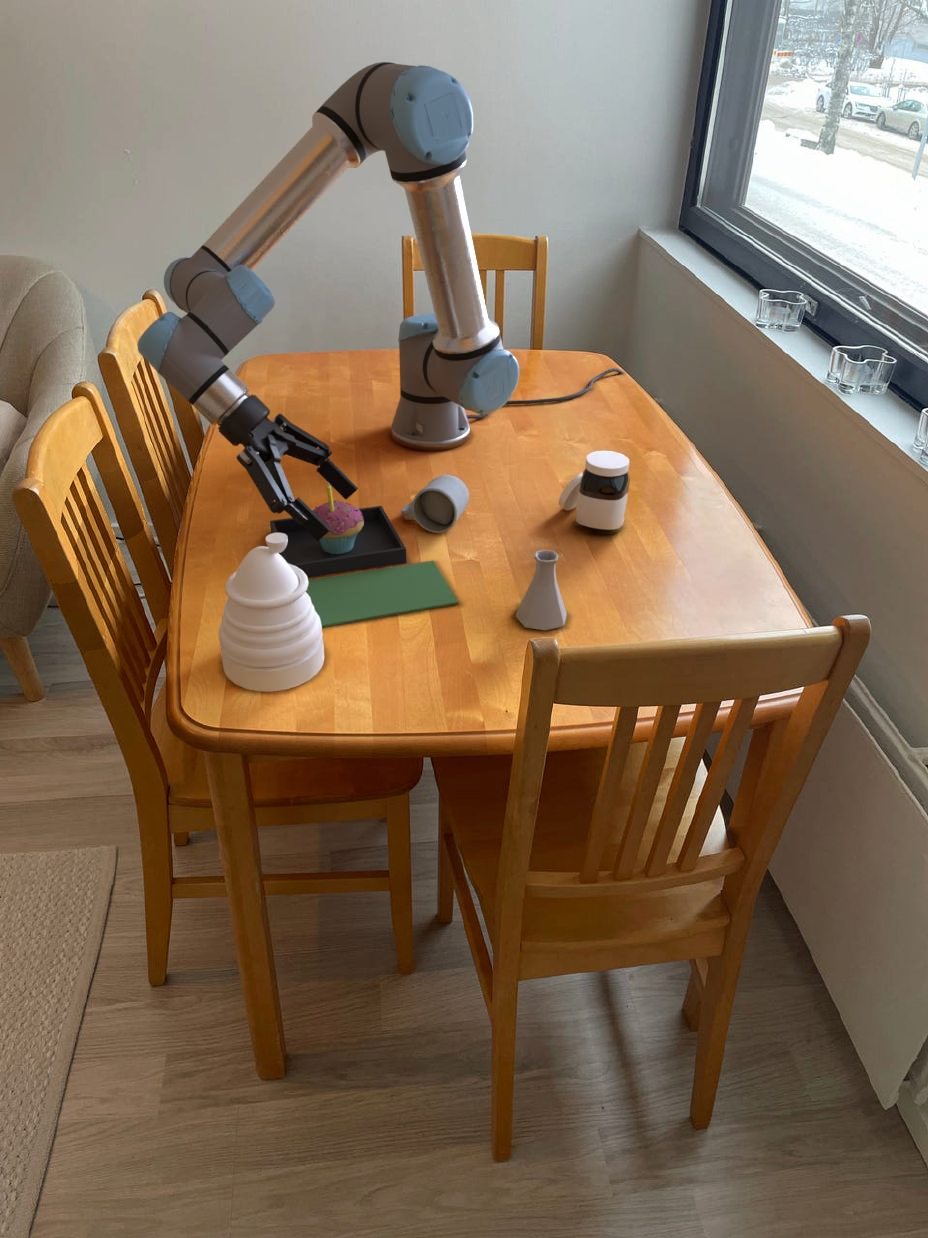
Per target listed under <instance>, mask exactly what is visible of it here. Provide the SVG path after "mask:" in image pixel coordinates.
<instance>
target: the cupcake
mask: <svg viewBox="0 0 928 1238" xmlns="http://www.w3.org/2000/svg"><path fill="white" fill-rule="evenodd" d="M326 484H327V485H326V493H327V501H328V502H324V503H322V504H320V505H318V506H315V507H314V508H313V509H312V511H313V512H314V513H316V514H317V515H318V516H319V517H320V518H321V519H322V520H323V521H324V522H325V523H326V524H327V525H328V526H329V527H330V528H331V530H330V531H329V532H328V533H327V534H326V535H324V536H323V537H322V538H321V539H320V540H319V541H320V543H321V546H322V548H323V550H324V551H326V552H327V553H330V554H343V553H346V552H349V551H350V550H351V549H352V548H353V545H354V541H355V538H356V536H357V534H358V532H359V531H360V530H361V529H362V527H363V526H364V521H363V518H364V517H363V516H362V513H361V511H360V510H359V509H360V508H358V507H357V506H355V505H352V504H351V503H348V502H345V501H340V500H333V491H332V486H331V485H330V484H329V482H327V481H326Z"/></svg>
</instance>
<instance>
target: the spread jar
mask: <svg viewBox="0 0 928 1238" xmlns="http://www.w3.org/2000/svg"><path fill="white" fill-rule="evenodd" d="M584 463H585V464H584V467H585V468H583V470H582V472H581V473H579V474H577V475H575V476H574V477H573V478H572V479H571V480H570V481H569V482H568V484H566V486H565V487H564V489H563V490H562V491H561V493H560V496H559V498H558V505H559V506H560V507H561V508H562V509H564V510H565V511H571V510H572V509H575V508H576V514H575V515H576V516H575V517H576V519H575V521H576V525H577V526H578V527H579V528H581V530H583V531H585V532H587V533H590V534H593V535H601V536H604V535H606V536H607V535H612V534H616V533H618V532H619V531H620V530H621V529H622V528H623V525H624V523H625V518H626V513H627V506H628V505H627V504H628V497H629V490H630V480H631V476H630V473H629V467H630V459H629V457H627V456H626V455H624V454H623V453H621V452H617V451H612V450H597V451H596V450H595V451H592V452H590V453H588V454H587V455H586V457H585V462H584Z"/></svg>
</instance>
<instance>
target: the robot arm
mask: <svg viewBox="0 0 928 1238" xmlns="http://www.w3.org/2000/svg"><path fill="white" fill-rule="evenodd" d="M473 112H474V111H473V107H472V103H471V100H470V97H469V95H468V93H467V91H466V89H465V88H464V86H463V85H462V83H460V82H459V80H458V79H456V77H454V76H452V75H451V74H449V73H448V72H445V71H443V70H440V69H437V68H436V67H432V66H429V65H422V64H421V65H411V64H410V65H409V64H400V63H394V62H389V61H380V62H375V63H373V64H370V65H366V66H365V67H363V68H361V69H359V70H358V71H357V72H355V73H354V74H353V75H352V76H350V77H349V78H348V79H346V80H345V82H344V83H342V84H341V85H340V86H339V87H338V88H337V89H336V90H335V91H334V92H333V93H332V94H331V95H329V97H328V98H327V99H326V100H325V101H324V102H323V104H321V106H320V107H319V108H317V110H316V111H315V112H314V113H313V114H312V117H311V125H312V126H311V127H310V128H309V129H308V131H306V132H305V133H304V135H303V136H302V137H301V138H300V139H299V140H298V142H296V143H295V145H294V146H292V148H290V150H289V151H288V152H287V153H286V154H285V155H284V157H283V158H282V159H281V160H280V161H279V162H278V163H277V164H275V166H274V167H273V168H272V169H271V170H270V171H269V173H268V174H267V175H266V176H265V177H264V178H263V179H262V180H261V181H260V182H259V183H258V185H257V186H256V187H255V188H254V189H253V190H252V191H251V192H250V193H249V194H248V196H246V198H244V199H243V201H241V203H240V204H239V205H238V206H237V207H236V208H235V209H234V210H233V212H232V213H230V215H229V216H228V217H227V218H226V219H225V220H224V221H223V223H221V225H219V227H218V228H217V229H216V230H215V231H214V232H213V233H212V234H211V235H210V236H209V238H208V239H207V240H205V241H204V243H203V244H202V245H201V246H200V247H199V248H198V249H197V250H196V251H195V252H194V253H193V254H192V256H190V257H181V258H179V257H178V258H177V259H175V260H173V261H172V262H171V263H169V265H168V266H167V268H166V270H165V272H164V276H163V287H164V290H165V293H166V295H167V297H168V298H169V299H170V301H171V302H173V304H175V305H176V307H177V308H178V309H179V310H180V311H183V312H185V313H186V314H184V316H182V317H180V316H179V315H177V314H176V313H175V312H173V311H167V312H163V314H161V315H160V316H159V317H158V318H157V319H155V320H154V321H153V322H151V324H150V325H149V326H148V327H147V328H146V329H145V331H143V333H142V334H141V335H140V337H139V338H138V340H137V344H136V345H137V352H138V353H139V354H140V355H141V356H142V357H143V358H144V359H145V360H146V362H147V363H148V364H149V365H150V366H151V367H152V368H153V369H154V371H156V372H157V374H159V375H160V376H161V377H162V378H163V380H165V381H166V382H167V383H168V384H169V385H170V386H171V387H172V388H173V389H174V390H176V391H177V392H178V394H180V395H181V396H182V397H183V398H184V399H185V400H186V401H187V403H189V404H190V405H191V406H192V407H194V408H195V409H196V411H198V413H199V414H200V415H202V416H203V417H204V418H205V420H207V421H208V422H209V423H210V424H211V425H212V426H215V425H218V428H217V429H218V432H219V433H220V434H221V435H222V437H224V438H225V440H227V442H229V443H230V444H231V445H232V446H233V447H238V446H239V445H242V447H244V448H243V449H242V450H241V451H240V452H239V453H238V455H236V457H235V459H236V460H237V461H238V462H239V464H240V465H241V466H242V467H243V468H244V469H245V471H246V472H247V474H248V476H249V477H250V478H251V480H252V482H253V484H254V485H255V487H256V489H257V491H258V492H259V494H260V495H261V497H262V499H263V500H264V503H265V504H266V505H267V507H268V509H269V511H270V512H271V513H273V514H278V515H281V514H282V513H283V512H285V513H287V514H288V515H289V516H290V518H293V519H294V520H295V521H296V522H297V523H298V524H300V525H301V526H303V527H304V528H305V529H306V530H307V531H308V532H309V533H310V534H311V535H312V536H313V537H314V538H315V539H316V540H317V541H319V540H320V539H321V538H322V537H323V536H324V535H326V534H327V533H328V532H329V531H330V530H331V528H330V527H329V526H328V525H327V524H326V523H325V522H324V521H323V520H322V519H321V518H320V517H319V516H318V515H317V514H316V513H314V512H313V509H312V508H311V507H310V506H309V505H308V504H307V503H306V502H304V500H303V499H302V498H300V497H299V496H298V497H296V498H295V497H294V494H293V492H292V489H291V487H290V484H289V481H288V479H287V477H286V474H285V472H284V470H283V467H282V464H281V462H282V457H283V456H289V457H292V458H294V459H296V460H300V461H302V462H304V463H307V464H310V465H313V466H316V467H317V468H316V470H315V471H316V472H317V473H318V474H319V475H320V476H321V477H322V478H323V479H324V481H326V483H327V482H329V485H330V486H331V488H333V489H334V490H335V491H336V492H337V493H338V494H339V495H340V496H341V497H342V498H343V499H344V500H345V501H346V500H348V499H349V498H350V497H351V496H352V495H353V494H354V493H356V492H357V491H358V489H359V488H358V486H357V485H356V484H355V483H354V482H353V481H352V480H351V479H350V478H349V477H348V476H347V475H346V474H345V473H344V472H343V471H342V470H341V469H340V468H339V467H338V466H337V465H336V464H335V463H334V462H333V461H332V460H331V459H330V458H329V457H330V456H332V455H333V452H332V450H331V449H330V446H329V445H328V444H327V443H326V442H323V441H322V440H320V439H319V438H317V437H316V436H314V435H312V434H310V433H309V432H307V431H305V430H304V429H302V428H301V427H299V426H298V425H296V424H294V423H293V422H292V421H290V420H289V419H287V417H285V415H283V414H282V413H278V414H277V415H276V416H274V417H273V419H272V420H271V419H270V418H268V417H269V416H270V414H271V409H270V408H269V407H268V406H267V405H266V404H265V403H264V402H263V401H262V399H260V398H259V397H258V396H257V395H256V394H253V393H252V394H250V393H249V392H250V388H249V386H247V385H246V384H245V383H244V381H242V379H240V377H239V376H237V375H236V374H235V373H234V372H233V371H232V370H231V369H230V368H229V367H228V366H227V365H226V364H225V363H224V362H223V361H222V360H223V359H224V358H225V357H226V356H228V354H229V353H230V352H231V351H233V349H234V348H235V347H237V345H239V343H240V342H241V341H243V339H245V338H246V337H247V336H248V335H249V334H250V333H251V332H252V331H253V330H254V329H255V328H257V326H258V325H261V324H262V323H263V320H264V319H265V318H266V316H267V315H269V313H270V312H271V311H272V310H273V309H274V307H275V303H276V301H275V298H274V295H273V293H272V292H271V290H270V289H269V287H268V286H267V285H266V284H265V283H264V281H263V280H262V279H261V278H260V276H258V275H257V274H256V273H255V272H254V271H253V270H254V269H255V267H256V266H258V264H260V262H261V261H262V260H263V259H264V258H265V257H266V256H267V255H268V254H269V253H270V251H272V249H273V248H274V247H276V245H277V244H278V243H279V242H280V241H281V240H282V238H284V237H285V236H286V234H287V233H289V232H290V230H291V229H292V228H293V227H294V226H295V225H296V224H297V223H298V221H300V219H302V217H303V216H304V215H305V214H306V213H307V212H308V211H309V210H310V209H311V208H312V207H313V206H314V205H315V203H317V201H318V200H319V199H320V198H321V197H323V195H324V194H325V193H326V192H327V191H328V190H329V188H330V187H331V186H332V185H333V184H334V183H335V182H336V181H337V180H338V179H339V178H340V177H341V176H342V174H344V172H345V171H346V170H348V169H349V168H351V169H357V168H359V167H360V166H361V164H362V163H363V162H365V160H366V159H368V158H369V157H370V156H372V155H374V154H375V153H377V152H382V151H383V152H384V153H385V157H386V161H387V165H388V169H389V174H390V176H391V180H392V182H394V183H396V184H397V185H399V186H400V187H402V188H403V189H404V193H405V196H406V201H407V205H408V209H409V214H410V217H411V221H412V225H413V229H414V234H415V237H416V242H417V246H418V250H419V254H420V258H421V259H420V260H421V262H422V266H423V271H424V275H425V280H426V283H427V289H428V292H429V295H430V300H431V304H432V309H433V312H432V313H422V314H421V313H420V314H416V315H411V316H409V317H406V318H405V319H403V320H402V321H401V322H400V324H399V329H398V330H399V331H398V338H397V339H398V341H397V342H398V350H399V351H398V353H399V357H398V358H399V399H398V403H397V407H396V410H395V413H394V416H393V418H392V421H391V438H392V440H394V441H395V443H397V444H398V445H401V446H403V447H406V448H408V449H413V450H416V451H417V450H419V451H428V452H429V451H444V450H450V449H454V448H457V447H459V446H461V445H463V444H465V443H467V441H468V440H469V439H470V434H471V433H470V432H471V430H470V429H471V428H470V427H471V426H470V423H469V420H470V419H471V420H472V419H475V420H481V419H484V418H485V417H487V416H488V415H489V414H491V413H495V412H496V411H498V410H500V409H502V407H503V406H505V405H527V404H528V405H529V404H530V405H532V404H545V403H555V402H563V401H567V400H571V399H574V398H578V397H580V396H582V395H584V394H585V393H587V392H589V391H590V390H591V388H592V387H593V384H594V383H595V382H597V381H598V380H600V379H601V378H603V377H605V376H606V375H608V374H611V373H614V372H616V373H618V374H619V375H624V372H623V371H622V369H620V368H616V367H613V368H609V369H607V370H604V371H602V372H601V373H599V374H598V375H596V376H595V377H593V378H592V379H591V380H590V381H589V384H588V385H587V386H586V387H585V388H584V389H581V391H578V392H576V393H573V394H572V393H571V394H568V395H565V396H560V397H553V398H552V397H551V398H539V399H538V398H537V399H523V400H519V399H517V400H510V399H511V398H512V396H513V393H514V392H515V391H516V389H517V387H518V383H519V381H520V379H519V378H520V365H519V362H518V360H517V358H516V357H515V356H514V355H513V353H512V352H511V351H508V349H504V346H503V342H502V337H501V332H500V327H499V325H498V323H497V322H495V321H494V320H493V319H492V318H489V317H488V312H487V311H488V310H487V307H486V301H485V296H484V291H483V286H482V281H481V276H480V271H479V267H478V262H477V257H476V251H475V247H474V242H473V241H474V240H473V236H472V231H471V227H470V226H471V225H470V222H469V221H470V220H469V217H468V211H467V206H466V202H465V196H464V191H463V187H462V182H461V176H460V174H461V172H462V170H463V168H464V167H465V165H466V163H467V161H468V159H467V155H466V150H467V148H468V146H469V144H470V140H469V139H470V136H472V135H473V130H474V113H473ZM466 411H471V412H473V413H475V414H467V413H466Z"/></svg>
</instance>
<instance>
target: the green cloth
mask: <svg viewBox="0 0 928 1238" xmlns="http://www.w3.org/2000/svg"><path fill="white" fill-rule="evenodd" d="M308 582H309V583H308V587H307V590H306V593H307V594H308V595H309V597H310V598H311V603H312V605H313V606H314V608H315V611H316V613H317V614H318V615H319V617H320V620H321V625H322V628H328V627H333V626H338V625H339V626H340V625H344V624H345V625H346V624H351V623H357V622H362V621H369V620H374V619H379V618H385V617H392V616H397V615H403V614H409V613H414V612H420V611H426V610H432V609H438V608H439V609H440V608H443V607H445V608H446V607H450V606H456V605H459V600H458V599H457V597H456V596H455V594H454V593H453V590H452V589H451V587H450V586H449V584H448V582H447V581H446V578H444V576H443V574H442V572H441V570H440V569H439V568H438V566H437V564H436V562H435V561H434V560H429V561H421V562H416V563H409V564H403V565H402V564H401V565H396V566H389V567H382V568H377V569H371V570H370V569H369V570H364V571H358V572H351V573H346V574H338V575H332V576H326V577H319V578H314V579H312V578H311V579H308Z"/></svg>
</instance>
